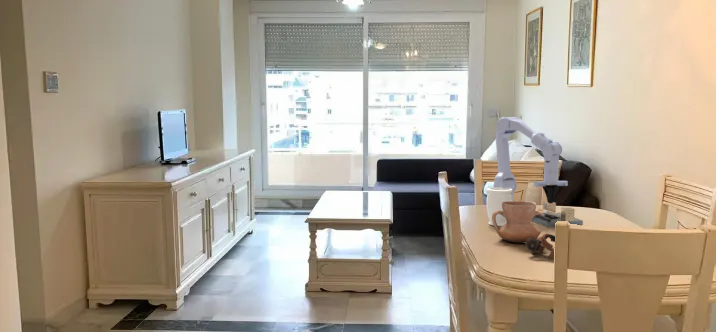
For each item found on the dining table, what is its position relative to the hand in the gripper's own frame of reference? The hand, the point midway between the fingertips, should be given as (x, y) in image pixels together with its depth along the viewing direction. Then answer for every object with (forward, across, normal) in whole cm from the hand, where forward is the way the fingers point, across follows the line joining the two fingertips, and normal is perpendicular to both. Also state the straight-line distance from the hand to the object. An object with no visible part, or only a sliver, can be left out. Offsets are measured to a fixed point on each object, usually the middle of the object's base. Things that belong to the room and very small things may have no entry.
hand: (550, 202), depth 247 cm
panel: (+8, +1, -2) cm, 8 cm away
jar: (+8, -24, -2) cm, 25 cm away
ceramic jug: (+8, -30, -30) cm, 43 cm away
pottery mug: (+8, -31, -51) cm, 60 cm away
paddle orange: (+6, 0, +2) cm, 6 cm away
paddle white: (+6, 0, -1) cm, 6 cm away
